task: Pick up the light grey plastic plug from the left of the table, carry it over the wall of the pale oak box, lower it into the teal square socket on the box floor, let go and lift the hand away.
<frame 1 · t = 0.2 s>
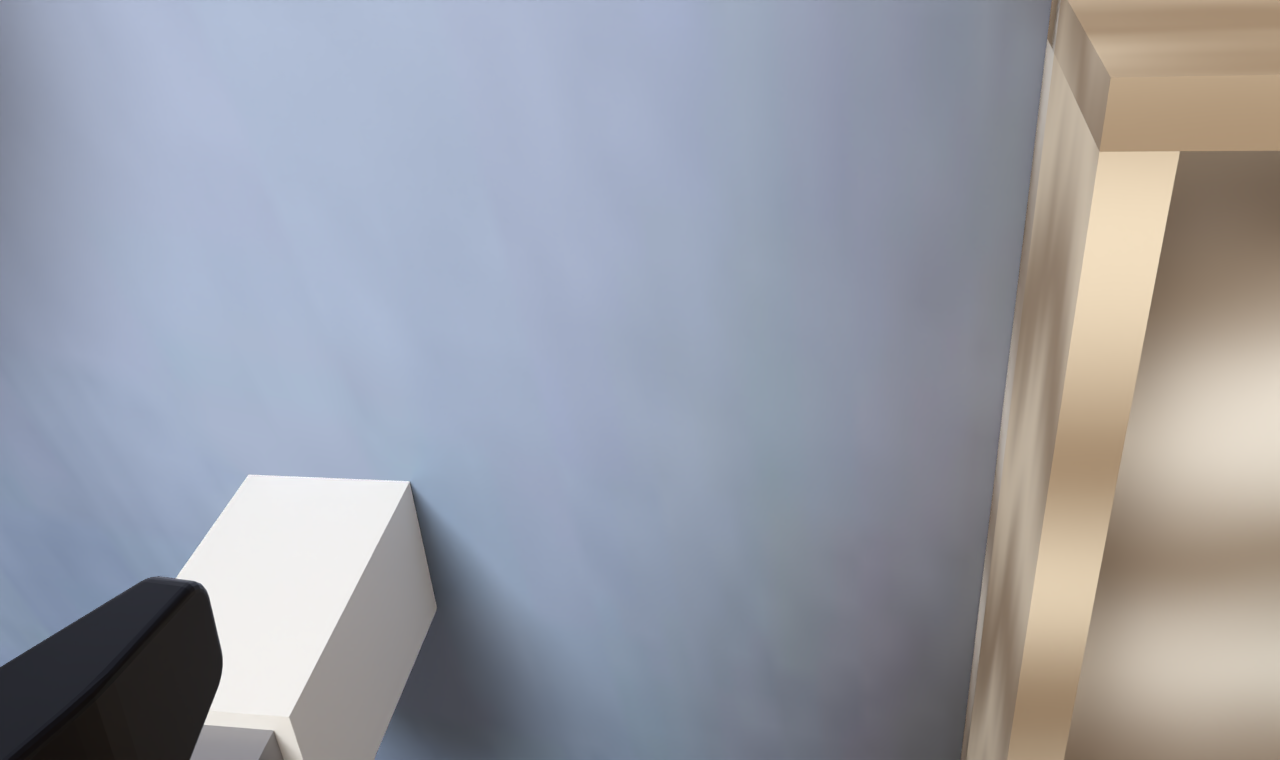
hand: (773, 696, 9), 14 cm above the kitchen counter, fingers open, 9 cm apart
grey plug: (345, 543, 29), on the kitchen counter
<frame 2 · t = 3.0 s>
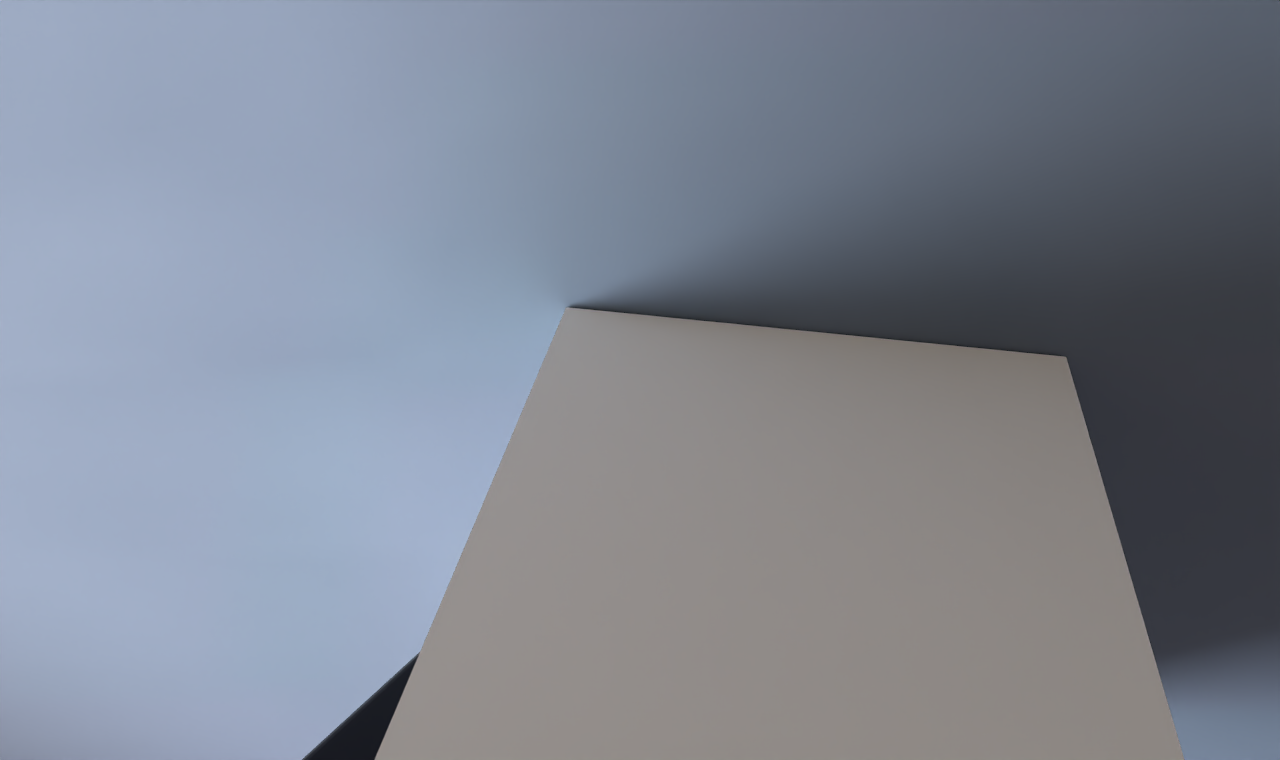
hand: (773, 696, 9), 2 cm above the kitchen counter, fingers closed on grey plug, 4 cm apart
grey plug: (786, 523, 11), on the kitchen counter, touching gripper
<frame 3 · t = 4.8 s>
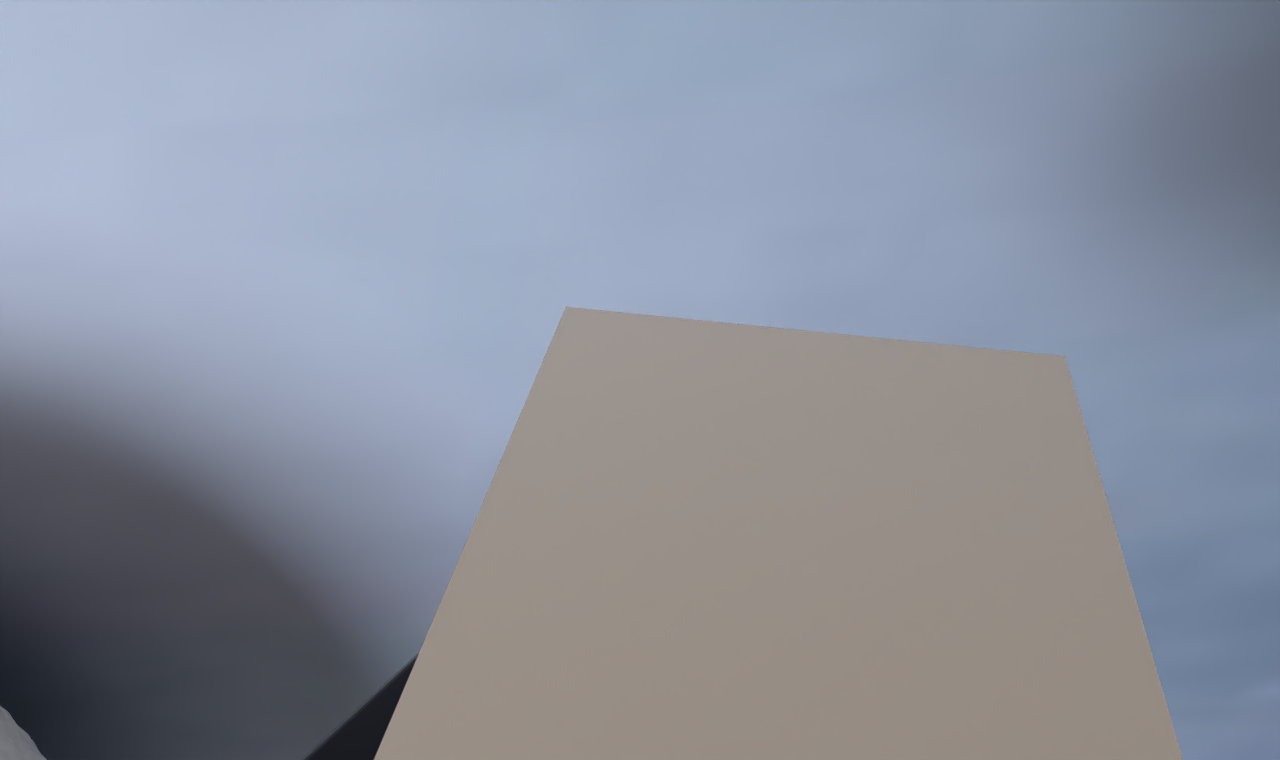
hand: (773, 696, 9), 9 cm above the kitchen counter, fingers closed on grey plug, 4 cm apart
grey plug: (786, 523, 11), point 7 cm above the kitchen counter, touching gripper
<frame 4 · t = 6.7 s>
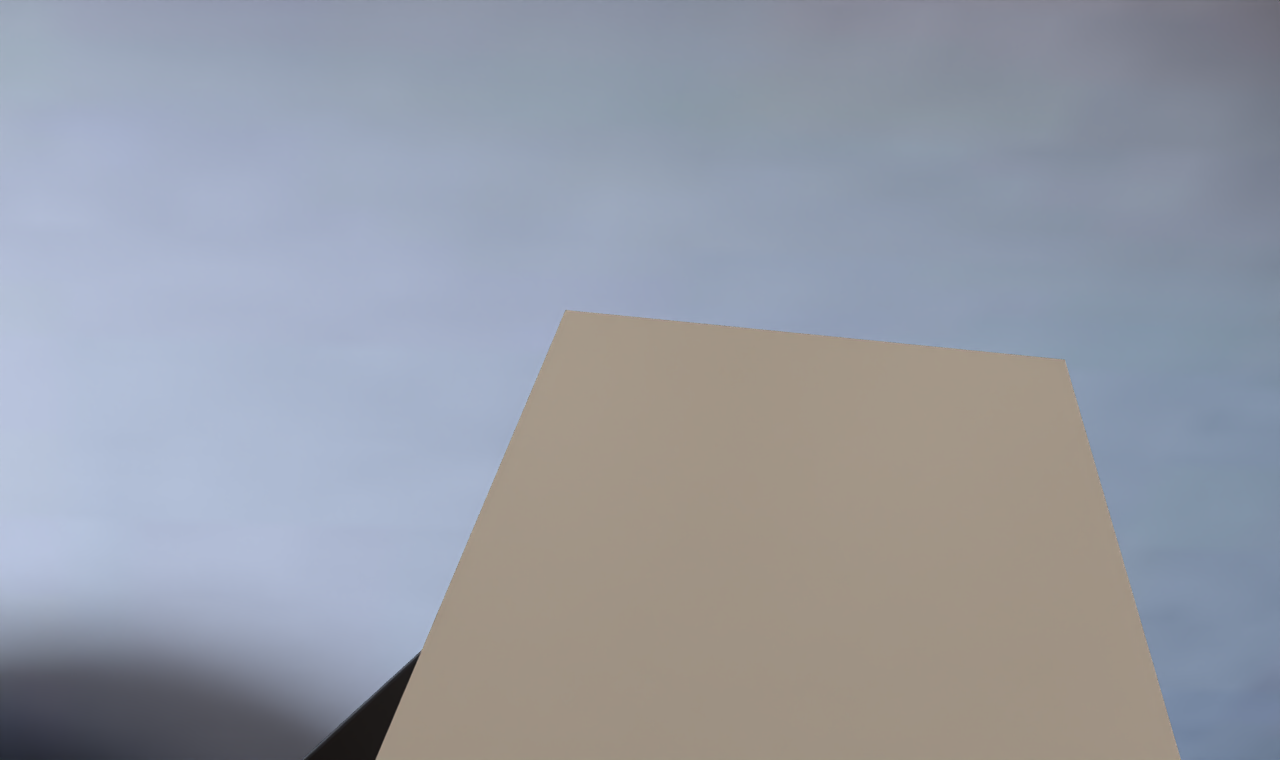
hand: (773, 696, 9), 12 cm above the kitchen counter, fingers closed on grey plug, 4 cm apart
grey plug: (785, 526, 11), point 10 cm above the kitchen counter, touching gripper
when the fingers open (5 cm above the kitchen counter, at t = 10.6 s): grey plug drops 2 cm, resting on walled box.
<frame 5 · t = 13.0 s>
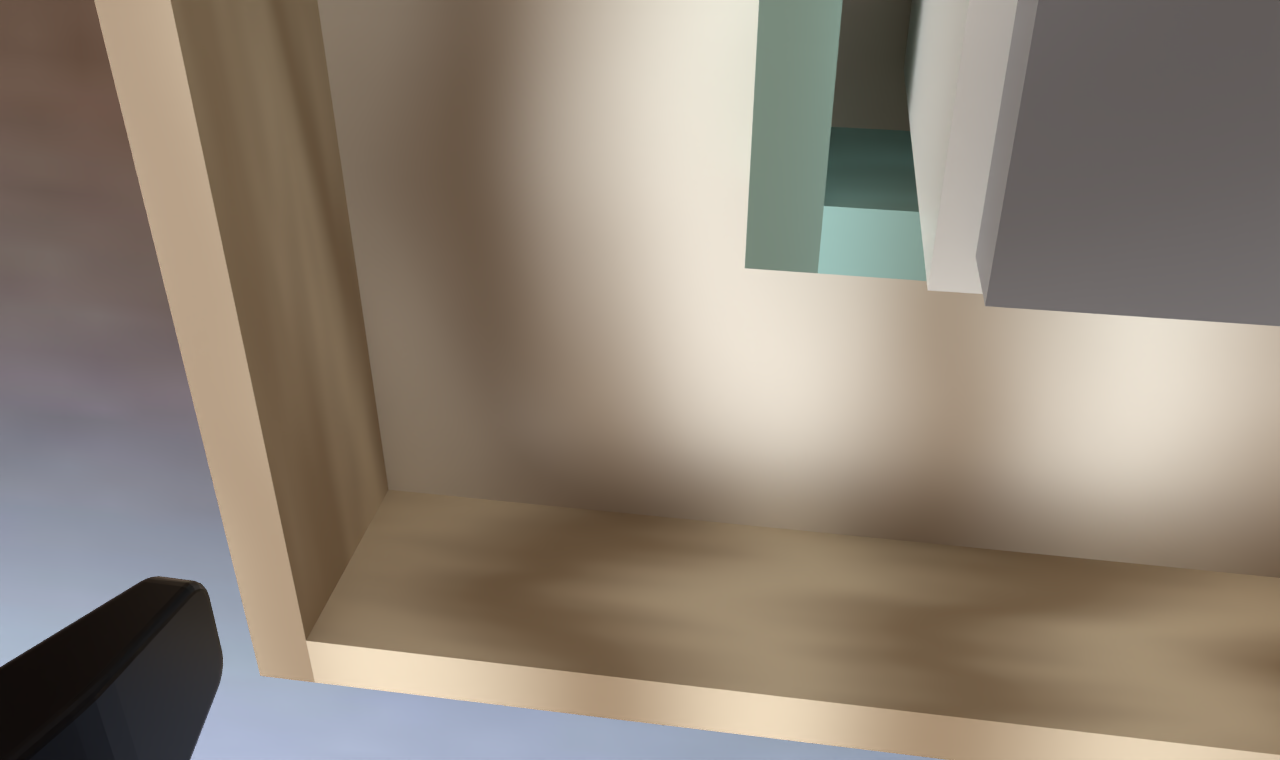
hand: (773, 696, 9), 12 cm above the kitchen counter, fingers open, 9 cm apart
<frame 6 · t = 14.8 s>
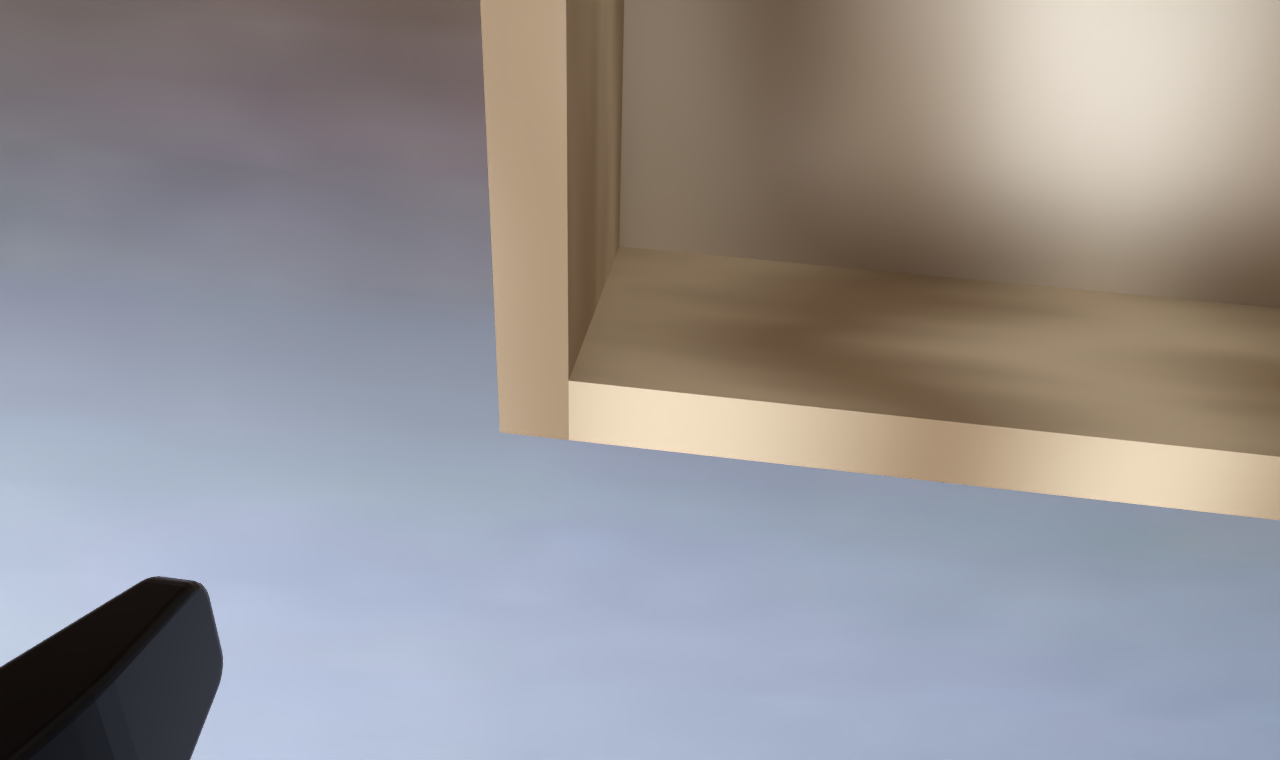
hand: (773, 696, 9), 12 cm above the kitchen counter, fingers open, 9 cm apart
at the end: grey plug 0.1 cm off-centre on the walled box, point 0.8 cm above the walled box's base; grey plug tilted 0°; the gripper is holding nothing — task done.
